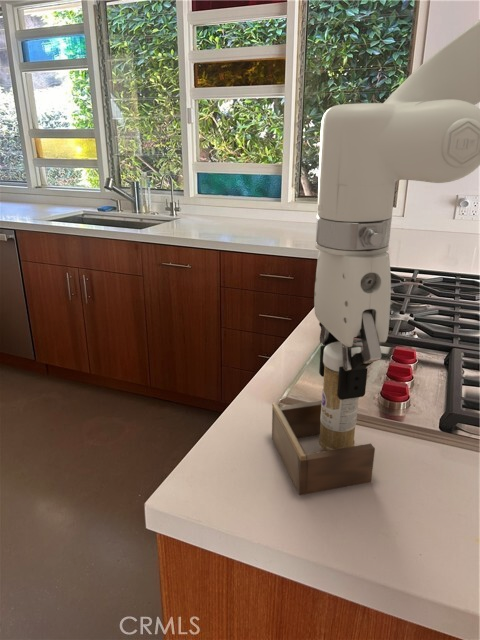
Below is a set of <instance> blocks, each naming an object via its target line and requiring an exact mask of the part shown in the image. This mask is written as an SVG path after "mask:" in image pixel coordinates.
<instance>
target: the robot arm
mask: <svg viewBox="0 0 480 640" xmlns="http://www.w3.org/2000/svg"><path fill="white" fill-rule="evenodd" d="M479 103H480V19H478V20H477V21H476V22H474V23H473V24H472V25H470V26H469V27H468V28H467V29H466V30H464V31H463V32H461V34H459V35H458V36H456V37H455V38H454V39H453V40H451V41H450V42H448V43H447V44H446V45H444V46H443V47H442V48H440V49H439V50H438V51H437V52H436V53H434V54H433V55H431V56H430V57H429V58H428V59H427V60H425V61H424V62H423V63H422V64H421V65H420V66H418V67H417V68H416V69H415V70H414V71H413V72H412V73H411V74H410V75H408V77H406V79H405V80H404V81H403V82H402V83H401V84H400V85H399V86H398V87H397V88H396V89H395V90H394V91H393V92H392V93H391V94H390V95H389V96H388V98H386V99H385V100H384V102H365V103H363V102H362V103H361V102H360V103H344V104H337V105H334V106H331V107H329V108H328V109H327V110H326V111H325V112H324V114H323V115H322V118H321V124H320V140H319V141H320V142H319V160H318V161H319V164H318V166H319V167H318V183H317V186H318V187H317V208H316V209H317V210H316V231H315V248H316V250H318V254H317V260H316V261H317V262H316V270H315V271H316V272H315V280H314V281H315V282H314V295H313V296H314V298H313V301H314V302H313V306H314V307H313V309H314V315H315V317H316V319H317V320H318V322H319V323H318V326H319V327H320V332H319V333H320V334H319V343H320V345H321V346H320V350H319V368H318V369H319V370H318V371H319V372H318V374H319V375H320V376H321V377H323V378H324V363H323V354H324V348H325V347H326V346H327V345H328V344H330V343H334V342H341V343H342V357H343V367H339V377H338V391H337V396H338V398H339V399H340V400H344V399H351V398H358V397H359V398H363V397H364V396H365V395H366V389H367V379H368V369H371V365H372V364H373V363H374V362H377V361H379V360H381V359H382V350H381V346H380V344H384V343H386V342H387V340H388V336H389V329H390V318H391V316H390V315H391V314H390V313H391V299H392V298H391V295H392V292H391V291H392V275H391V260H390V253H389V252H388V251H389V249H390V247H389V246H390V237H391V228H392V220H393V218H392V217H393V209H394V202H395V201H394V199H395V191H396V183H397V182H398V181H415V182H424V183H432V184H445V183H446V184H447V183H451V182H455V181H457V180H458V181H459V180H460V179H463V178H465V177H467V176H468V175H470V174H471V173H473V172H475V170H477V169H478V168H479V167H480V107H478V106H476V105H477V104H479ZM357 337H360V338H359V339H355V338H357ZM355 347H361V352H360V353H356V354H355V355H353V356H351V348H355Z"/></svg>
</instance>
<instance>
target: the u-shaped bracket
mask: <svg viewBox="0 0 480 640" xmlns="http://www.w3.org/2000/svg"><path fill="white" fill-rule="evenodd" d="M271 405H272V409H271V439H272V441H273V443H274V445H275V447H276V450H277V451H278V454H279V456H280V458H281V460H282V462H283V464H284V466H285V468H286V471H287V473H288V475H289V477H290V479H291V482H292V483H293V486H294V488H295V489H296V492H297V494H298V496H304V495H308V494H314V493H319V492H325V491H331V490H335V489H341V488H347V487H351V486H357V485H358V486H359V485H362V484H368V483H372V477H373V470H374V469H373V468H374V459H375V451H376V448H375V447H374V445H373V444H372V443H371V442H370V443H365V444H359V445H358V444H357V445H354V446H352V447H346V448H340V449H334V450H328V451H327V450H323V451H318V452H311V453H306V452H305V450H304V448H303V446H302V444H301V443H300V441H299V439H302V438H308V437H309V438H310V437H315V436H319V435H320V425H321V419H320V418H321V406H322V399H321V400H316V401H308V402H302V403H301V402H300V403H294V404H287V405H281V406H280V405H278V402H273V403H272V404H271Z"/></svg>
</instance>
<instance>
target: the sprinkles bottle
mask: <svg viewBox="0 0 480 640" xmlns="http://www.w3.org/2000/svg"><path fill="white" fill-rule="evenodd" d="M360 352H361V347H355V348H351V356H353V355H355V354H356V353H360ZM323 363H324V377H323V385H322V393H321V400H322V406H321V418H320V419H321V425H320V435H318V444H319V446H320V447H321V448H322V449H323V450H324V451H328V450H334V449H340V448H346V447H352V446H355V445H356V443H355V431H356V425H357V419H358V411H359V410H358V409H359V408H358V407H359V399H360V397H358V398H351V399H344V400H340V399H339V398H338V396H337V391H338V377H339V367H343V357H342V343H341V342H334V343H330V344H328V345H327V346H326V347H325V348H324V354H323Z"/></svg>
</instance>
